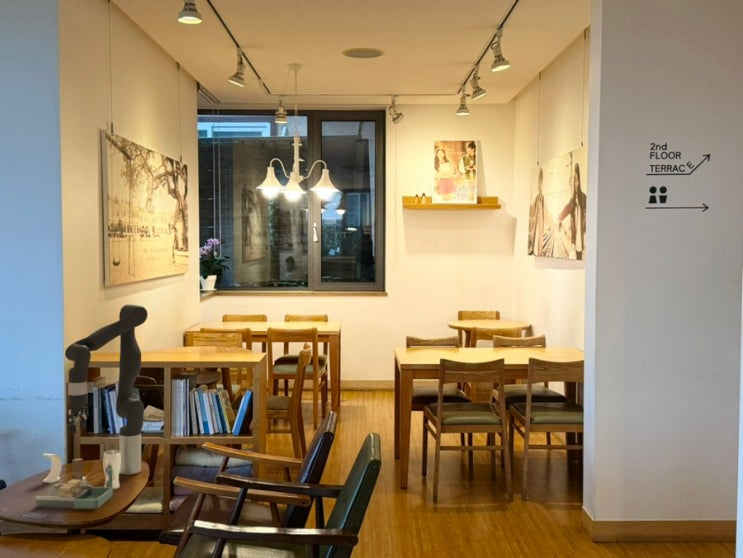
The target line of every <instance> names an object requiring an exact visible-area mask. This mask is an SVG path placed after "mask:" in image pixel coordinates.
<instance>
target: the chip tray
mask: <svg viewBox="0 0 743 558" xmlns="http://www.w3.org/2000/svg"><path fill="white" fill-rule="evenodd" d="M113 497H114V489H113V487H104V486H92V487H91V495H90V496H88V497H87V498H86V499H74V510H77V509H78V510H95V511H96V510H98V509H100V507H102V506H103V505H104V504H105V503H107V502H108V501H109V500H111V499H112V498H113Z"/></svg>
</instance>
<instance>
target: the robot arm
mask: <svg viewBox="0 0 743 558" xmlns="http://www.w3.org/2000/svg"><path fill="white" fill-rule="evenodd" d="M147 320H148V311H147V308H146V307H144V306H142V305H138V304H124V305H123V306H122V307H121V308H120V311H119V314H118V320H117V321H115V322H113V323H110V324H108V325H105V326H103V327H100V328H99V329H96V330H95V331H94V332H93V333H92V332H91V334H89V335H88V336H86V337H85V338H82V339H79V340H77V341H75V342H73V343H71V344H70V345H68V346H67V348H66V349H65V353H64V355H65V358H66V359H67V360H69V361H71V362H74V365H73V367H71V368H69V370H68V387H67V404H68V405H70V406H71V408H70V409H67V410H66V425H69V434H70V435H75V434H76V433H77V421H78V420H79V429H84V430H85V429H86V425H87V424H86V421H87V418H89V415H90V413H89V401H88V399H89V397H88V396H89V395H88V393H89V391H88V389H89V387H88V369H89V366H90V362H91V358H92V357H91V356H92V354H91V352H96V351H99V350H100V349H101V348H102V347H104V346H105V345H107V344H108V343H110V342H111V341H114V340H115V339H116V338H117V337H119V336H120V339H119V340H120V341H119V344H120V345H119V347H120V348H119V349H120V350H119V369H118V370H119V373H118V387H117V395H116V402H115V413H116V415H117V416H118V417H119V418H122V419H126V423H125V424H126V425H123V426H121V427H120V428H119V443H118V444H119V447H118V448H119V449H118V450H119V451H121V468H120V473H119V475H127V476H128V475H129V476H130V475H135V474H139V473H140V472H141V471H142V428H143V426H144V416H145V415H144V414H145V413H144V412H145V411H144V410H145V406H144V403H143V401H142V400H141V399H137V398H133V397H132V396H133V395H132V394H133V386H134V383H135V382H136V379H137V378H138V376H139V375H140V373H141V369H142V352H141V349H140V346H139V344H138V341H137V339H136V328H137V327H140V326H141V325H143V324H144V323H145V322H146V321H147Z"/></svg>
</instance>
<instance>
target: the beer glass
mask: <svg viewBox="0 0 743 558" xmlns="http://www.w3.org/2000/svg"><path fill="white" fill-rule="evenodd" d="M120 468H121V451H119V449H111V450H110V449H109V450H106V451H104V452H103V472H104V478H105V480H104V481H105V482H104V485H103V487H113V490H117V489H119V488H120V487H121V486H120V480H119V479H120Z"/></svg>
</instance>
